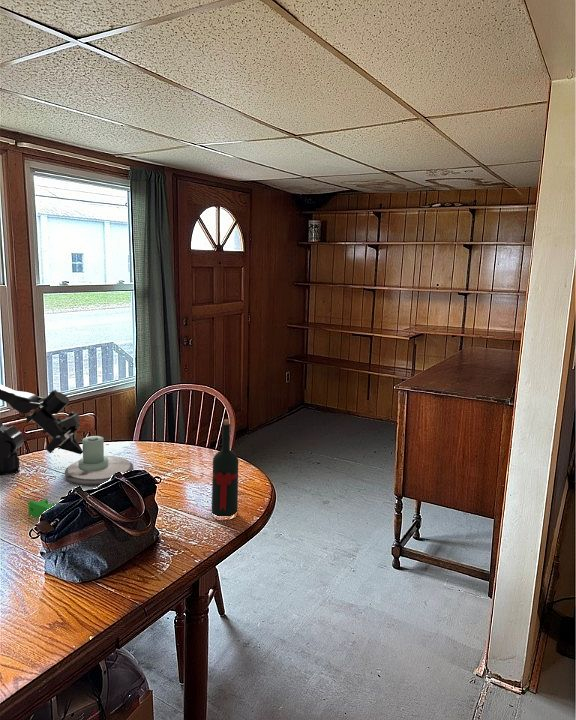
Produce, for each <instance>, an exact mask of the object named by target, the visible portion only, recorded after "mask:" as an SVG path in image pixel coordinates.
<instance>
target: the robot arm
mask: <svg viewBox="0 0 576 720" xmlns="http://www.w3.org/2000/svg"><path fill="white" fill-rule="evenodd" d="M0 400H1V401H3V402H5V403H7V404H8V405H9V406H10V407H11V408H12V409H14V410H15V411H17V412H18V413H20V414H23V415H24V414H27V415H25V416H26V419H25V422H26V424H30V422H32V421H33V422H34V423H35V424H37V426H38V427H40V429H42V430H43V431H42V433H43V435H46V434H47V435H49V437H51V438H52V439H51V441H50V442H49V443H47V445H46V446H45V450H46V451H47V452H48V453H49V454H51V453H53V452H54V451H55V450H56V449H58V450H64V451H67V452H71V453H75V454H79V455H83V448H82V446H80V444H79V442H78V440H77V430H78V429H80V428H81V426H82V425H81V424H80V423H81V422H82V421H81V420H80V418H81V417H80V414H78V413H77V412H75V411H71V412H70V413H68V415H67V416H68V417H66V418H64V419H63V418H61V417H56V416H55V415H58V414H59V413H60V412H61V411H63V410H64V408H65V407H66V406H67V405H69V403H70V400H69V398H68V396H67V395H66V394H64V393H62V392H60V391H57V390H56V389H53V390H52V391H51V392H50V393H49V394H48V395H47V396H46V397H41V396H37V395H36V394H35V393H31V392H27V391H19V390H15V389H12V388H9V387H7V386H6V385H5V386H4V385H3V384H0ZM40 407H41V408H40ZM33 410H34V411H33ZM32 411H33V412H32ZM30 412H32V413H30ZM24 438H25V437H24V436H23V432H22V431H20V430H19V429H17V427H16V426H14V425H11V426H9V427H8V426H6V425H4V424H2V423H1V422H0V476H3V475H9V474H14V473H19V472H20V468H21V467H20V457H19V456H18V453H17V452H18V451H19V450H20V447H22V446H23V444H24V441H25V440H24Z"/></svg>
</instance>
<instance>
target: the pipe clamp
mask: <svg viewBox="0 0 576 720" xmlns="http://www.w3.org/2000/svg"><path fill="white" fill-rule="evenodd" d="M27 502H28V503H27V504H28V507H27V508H28V516H30V515H32V516H34V517H33V518H35V517H37V518H36V519H38V518H39V517H40V515H41V514H42V513H43V512H44V511H46V510H47V509H49V508H51V507H52V506H54V505H55V504H57V503H58V502H55V503H49V500H48V499H47V498H46V499H43V500H41V501H36V500H32V499H31V500H28V501H27ZM32 516H31V517H32Z"/></svg>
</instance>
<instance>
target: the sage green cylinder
mask: <svg viewBox="0 0 576 720" xmlns="http://www.w3.org/2000/svg"><path fill="white" fill-rule="evenodd" d="M81 441H82V451H83V453H82V458H80V459H79V460H77V461H78V465H79V469H80V470H83V471H98V470H102V469H105V468H106V467H108V458H107V457H105V456H106V455H105V454H104V453H105V452H104V449H105V448H104V444H105V443H104V442H105V441H104V437H103V436H99V435H92V436H91V435H90V436H86V437H84V438H82V440H81Z"/></svg>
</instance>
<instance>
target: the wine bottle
mask: <svg viewBox="0 0 576 720" xmlns="http://www.w3.org/2000/svg"><path fill="white" fill-rule="evenodd" d="M221 445H222V447H221V449H220V450H219V451H217V452H216V454H215V455H214V456H213V458H212V479H211V480H212V483H211V486H212V487H211V488H212V489H211V514H212V513H213V514H215V515H217V516H231V515H233V514H235V513H236V512H237V513H238V510H239V509H238V506H239V504H238V503H239V501H238V498H239V497H238V495H239V458H238V456H237V454H236V453H235V452H234V451H233V450H231V447H230V445H231V423H230V418H229V419H228V418H225V419H223V423H222V440H221Z"/></svg>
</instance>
